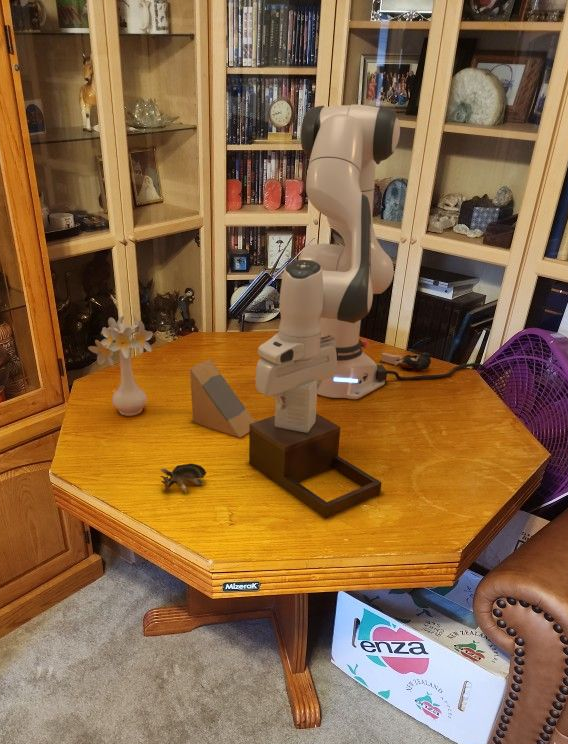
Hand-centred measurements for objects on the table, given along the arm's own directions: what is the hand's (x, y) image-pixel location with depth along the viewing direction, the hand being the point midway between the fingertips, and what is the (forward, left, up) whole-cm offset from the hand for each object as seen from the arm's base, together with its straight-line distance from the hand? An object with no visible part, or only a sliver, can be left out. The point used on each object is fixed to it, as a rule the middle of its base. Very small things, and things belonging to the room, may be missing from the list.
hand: (296, 403), depth 146 cm
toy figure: (-65, -25, -16) cm, 72 cm away
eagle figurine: (+26, -6, -16) cm, 31 cm away
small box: (0, 0, -6) cm, 6 cm away
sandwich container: (+1, -26, -16) cm, 31 cm away
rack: (0, +7, -16) cm, 17 cm away
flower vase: (+18, -46, -16) cm, 52 cm away
